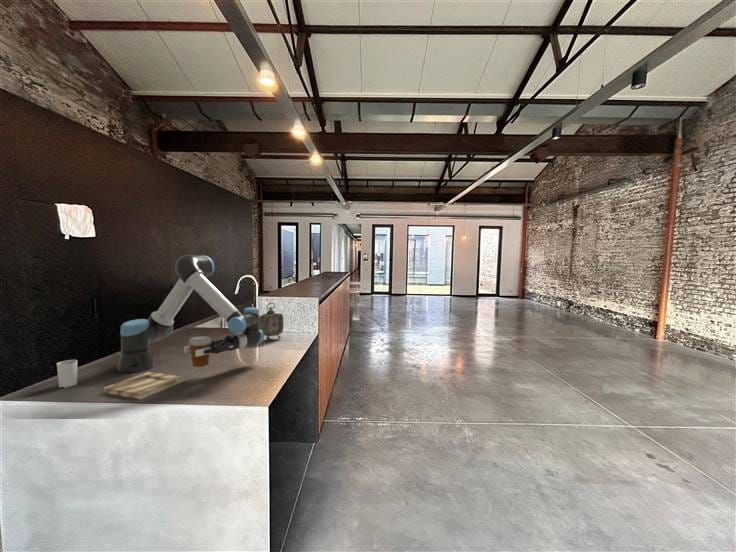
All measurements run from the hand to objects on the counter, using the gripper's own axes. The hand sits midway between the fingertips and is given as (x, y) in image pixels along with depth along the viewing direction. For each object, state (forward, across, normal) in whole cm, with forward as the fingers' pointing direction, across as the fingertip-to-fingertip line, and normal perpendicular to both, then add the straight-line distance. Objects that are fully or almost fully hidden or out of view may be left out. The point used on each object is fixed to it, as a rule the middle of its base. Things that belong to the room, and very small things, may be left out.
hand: (190, 351), depth 149 cm
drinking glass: (+31, +40, -15) cm, 53 cm away
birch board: (+14, +11, -14) cm, 22 cm away
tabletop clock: (-73, +32, -14) cm, 81 cm away
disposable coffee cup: (-5, 0, -7) cm, 9 cm away
